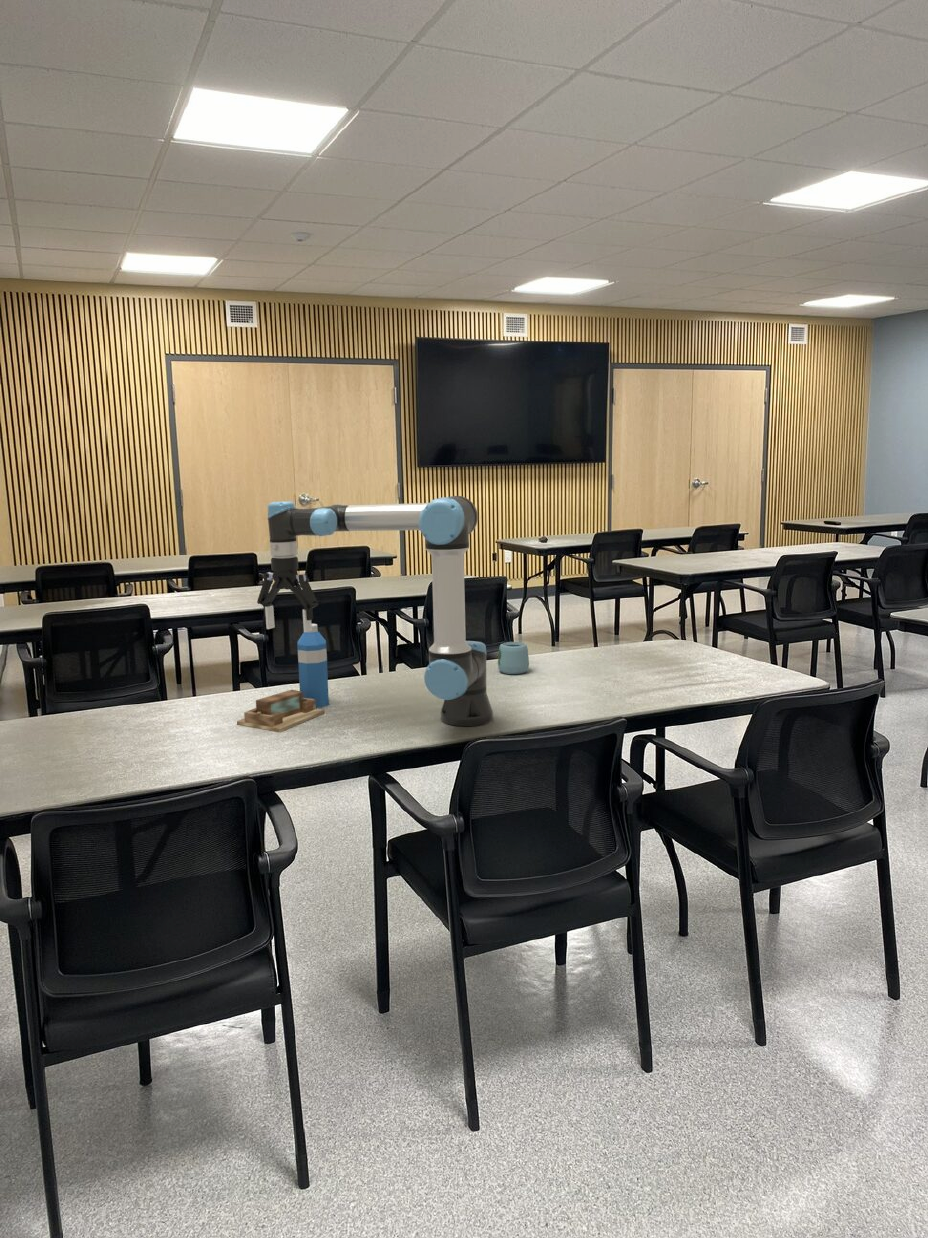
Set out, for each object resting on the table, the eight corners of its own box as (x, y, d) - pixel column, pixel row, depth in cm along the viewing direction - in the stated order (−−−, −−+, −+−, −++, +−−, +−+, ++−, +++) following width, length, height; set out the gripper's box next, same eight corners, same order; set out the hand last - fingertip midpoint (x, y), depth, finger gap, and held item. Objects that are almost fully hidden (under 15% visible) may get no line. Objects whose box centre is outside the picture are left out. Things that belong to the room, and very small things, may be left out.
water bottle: (323, 708, 274) (319, 628, 269) (294, 707, 275) (290, 627, 271) (333, 700, 283) (330, 622, 278) (305, 699, 284) (302, 621, 280)
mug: (494, 666, 324) (493, 639, 322) (524, 664, 325) (524, 637, 324) (500, 676, 310) (500, 648, 308) (531, 675, 311) (531, 646, 309)
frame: (292, 708, 271) (291, 689, 269) (303, 711, 268) (302, 691, 267) (256, 720, 259) (255, 700, 258) (267, 723, 257) (266, 702, 256)
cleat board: (324, 713, 269) (323, 698, 268) (280, 732, 252) (279, 716, 251) (282, 706, 276) (281, 692, 275) (236, 724, 259) (236, 709, 258)
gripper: (241, 556, 257) (247, 629, 261) (311, 559, 246) (315, 635, 250) (259, 553, 264) (264, 624, 268) (327, 556, 252) (332, 630, 256)
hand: (289, 630), depth 259 cm, fingers open, 13 cm apart
